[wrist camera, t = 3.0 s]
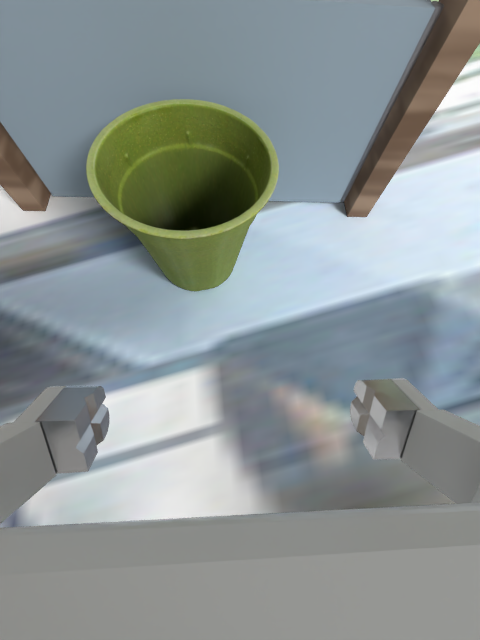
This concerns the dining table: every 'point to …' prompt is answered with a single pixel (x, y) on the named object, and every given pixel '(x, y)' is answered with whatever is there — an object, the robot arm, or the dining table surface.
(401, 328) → the dining table surface
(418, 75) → the door frame
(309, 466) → the dining table surface
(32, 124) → the door
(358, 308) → the dining table surface
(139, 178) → the plant pot
